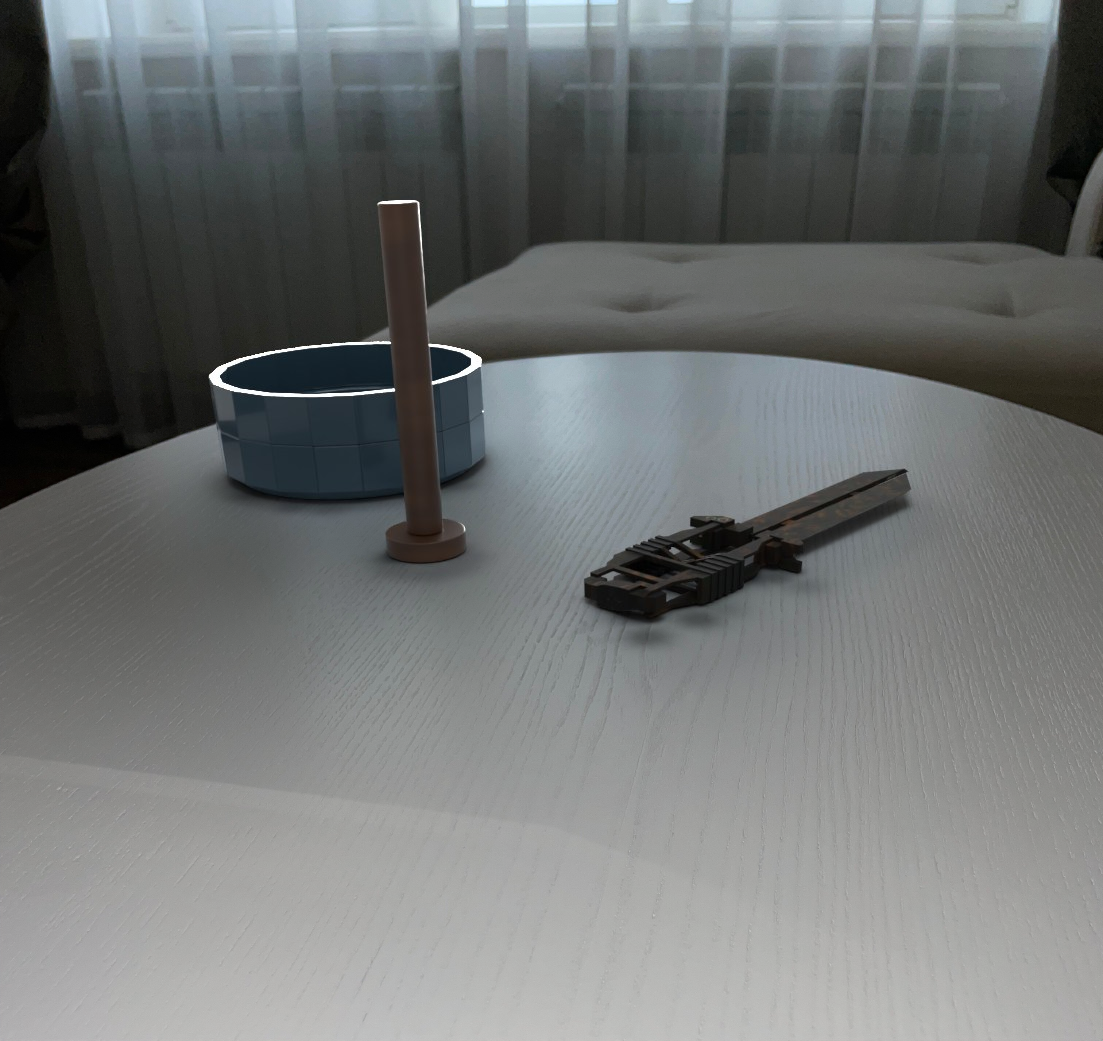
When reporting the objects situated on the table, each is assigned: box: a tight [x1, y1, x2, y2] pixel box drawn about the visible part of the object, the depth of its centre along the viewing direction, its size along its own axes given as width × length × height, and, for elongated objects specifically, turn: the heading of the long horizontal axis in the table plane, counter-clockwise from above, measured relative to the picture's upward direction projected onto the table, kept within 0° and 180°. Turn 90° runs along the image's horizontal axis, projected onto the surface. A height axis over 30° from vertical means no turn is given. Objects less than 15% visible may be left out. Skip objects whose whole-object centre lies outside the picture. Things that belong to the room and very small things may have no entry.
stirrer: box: [377, 199, 467, 564], centre depth 54 cm, size 4×4×16 cm
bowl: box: [208, 341, 487, 500], centre depth 71 cm, size 16×16×6 cm
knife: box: [583, 468, 912, 619], centre depth 57 cm, size 25×6×1 cm, turn 130°
